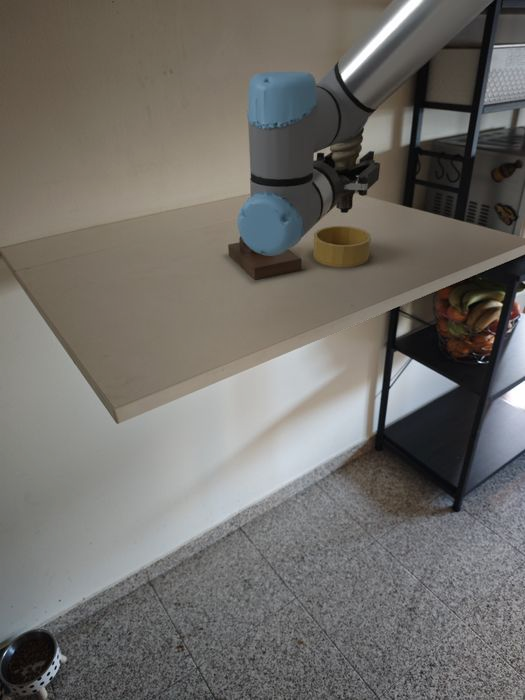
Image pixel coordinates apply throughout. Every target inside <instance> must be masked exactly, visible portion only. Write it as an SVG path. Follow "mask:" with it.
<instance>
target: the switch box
mask: <svg viewBox="0 0 525 700" xmlns="http://www.w3.org/2000/svg"><path fill="white" fill-rule="evenodd" d="M238 240H239V241H238V242H234V243H228V244H227V247H228V250H227V251H228V256H229V257H230V258H231V259H232V260H233V261H234V262H235V263H236V264H237V265H238V266H239V267H240V268H242V269H243V270H244V271H245V272H246V273H247V275H249V276H250V277H251V278H252V279H253V280H254V281H257V280H262V279H266V278H271V277H275V276H279V275H285V274H288V273H293V272H297V271H302V257H301V256H299V255H297V254H296V253H294V251H292V250H291V249H290V248H289V249H288V250H286V251H285V252H283V253H281V254H279V255H275V256H265V255H262V254H259V253H257V252H255V251H253V250H252V249H251V248H249V247H248V246H247V245H246V243H245V242H244V241H243V239H242V237H241V235H240V236H239V239H238Z"/></svg>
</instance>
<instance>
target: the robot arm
mask: <svg viewBox="0 0 525 700" xmlns="http://www.w3.org/2000/svg"><path fill="white" fill-rule="evenodd" d="M494 1H495V0H392V1H391V2H390V3H389V4H388V5H387V6H386V7H385V8H384V10H383V11H382V12H381V13H380V14H379V15H378V16H377V17H376V18H375V20H374V21H373V22H371V24H370V25H369V26H368V27H367V28H366V30H365V31H363V33H362V34H361V35H360V36H359V37H358V38H357V39H356V41H354V42H353V43H352V45H351V46H350V47H349V48H348V49H347V50H346V52H344V54H343V55H341V57H340V58H339V60H338V61H337V62H336V63H335V64H334V65H333V66H332V67H331V68H330V70H329V71H328V72H327V73H326V74H325V75H324V76H323V77H322V78H321V79H320V80H319V81H318V82H316V78H315V77H314V76H313V74H312V73H310V72H307V71H271V72H269V71H268V72H260V73H257V74H255V75H254V76H252V77H251V79H250V81H249V84H248V108H247V109H248V110H247V114H246V115H247V116H246V117H247V121H248V124H247V125H248V147H249V169H250V177H249V185H250V188H249V190H250V197H248V198H247V199H246V201H245V202H244V203H243V204H242V206H241V208H240V210H239V213H238V216H237V229H238V233H239V235H240V236H241V237H242V239H243V241H244V242H245V243H246V245H247V246H248V247H249V248H251V249H252V250H253V251H255V252H257V253H259V254H262V255H265V256H275V255H279V254H281V253H283V252H285V251H286V250H288V249H289V250H290V249H291V248H292V247H294V246H296V245H297V244H298V243H300V241H301V240H302V238H303V237H304V236H305V235H306V234H307V233H308V232H310V230H311V229H312V228H313V227H314V226H315V225H316V224H318V222H320V221H321V220H322V219H323V218H324V217H325V216H327V214H329V213H330V212H331V211H332V210H333V209H334V208H336V206H337V205H336V204H337V203H338V201H339V199H340V197H341V195H344V194H347V193H348V192H349V190H355V194H356V193H357V194H358V195H359V196H361V197H363V196H364V197H365V196H367V195H368V190H369V189H370V188H371V187H373V185H375V183H377V182H378V181H379V177H380V169H381V163H380V162H376V160H375V159H374V156H375V151H374V150H369V151H367V153H365V155H363V156H362V157H361V158H360V159H359V161H358V163H356V164H355V165H352V166H350V167H347V168H346V167H338V168H336V169H333V168H335V162H334V160H333V159H332V155H333V152H331V151H330V152H329V153H328V154H326V155H325V152H321V151H323V150H325V149H327V148H330V146H332V145H334V144H337V143H341V142H344V141H347V140H348V139H350V138H351V137H353V136H354V135H355V134H357V133H358V132H359V131H360V130H361V129H362V128H363V127H364V128H365V126H366V124H367V122H368V120H369V118H370V117H371V116H372V115H373V114H374V113H375V112H376V111H377V110H378V108H379V107H381V106H382V105H383V104H384V103H385V102H386V101H387V100H388V99H389V98H390V97H391V96H393V95H394V93H396V92H397V91H398V90H399V89H400V88H401V87H402V86H403V85H404V84H406V82H408V81H409V79H411V78H412V77H413V76H414V75H415V74H416V73H418V71H419V70H421V69H422V68H423V67H424V65H426V64H427V63H428V62H429V61H430V60H431V59H432V58H433V57H434V56H436V54H438V53H439V52H440V51H441V50H442V49H443V48H444V47H445V46H446V45H448V44H449V43H450V42H451V41H452V40H453V39H454V38H455V37H456V36H457V35H459V33H460V32H461V31H462V30H464V29H465V28H466V27H467V26H468V25H469V24H470V23H471V22H472V21H474V19H475V18H477V16H479V15H480V14H481V13H482V12H483V11H484V10H485V9H486V8H487V7H488V6H489V5H491V4H492V3H493V2H494ZM319 151H320V152H319ZM315 153H316V159H315V157H314V156H315Z"/></svg>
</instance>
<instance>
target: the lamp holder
mask: <svg viewBox="0 0 525 700" xmlns="http://www.w3.org/2000/svg"><path fill="white" fill-rule="evenodd" d="M371 242H372V236H371V234H370V233H369V232H368V231H367V230H365V229H362V228H360V227H356V226H350V225H349V226H346V225H331V226H325V227H322V228H320V229H318V230H316V231H315V232H314V233H313V249H312V250H313V252H312V254H313V255H312V256H313V259H314V260H315V261H316V262H318V263H319V264H322V265H325V266H328V267H333V268H353V267H358V266H361V265H364V264H365V263H366V262H367V261H369V256H370V252H371Z"/></svg>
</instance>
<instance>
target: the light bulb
mask: <svg viewBox="0 0 525 700" xmlns="http://www.w3.org/2000/svg"><path fill="white" fill-rule="evenodd" d="M364 131H365V126H364V127H363V128H362V129H361V130H360V131H359V132H358V133H357V134H355V135H354V136H353V137H351V138H350V139H348V140H347V141H344V142H341V143H337V144H334V145H332V146H330V147H329V151H330V153H331V152H333V155H332V159H333V160H334V162H335V168H333V169H336V168H338V167H346V168H347V167H350V166H352V165H355V164H357V160H358V158H359V157H360V153H361V152H362V148H363V147H362V143H363V140H364V135H363V133H364ZM355 194H356V192H355V190H349V192H348V193H347V194H344V195H341V197H340V199H339V201H338V203H337V204H336V205H335V208H336V209H339V210H340V213H341V214H347V213H349V211H350V210H352V208H353V201H354V200H353V199H354V195H355Z"/></svg>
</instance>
